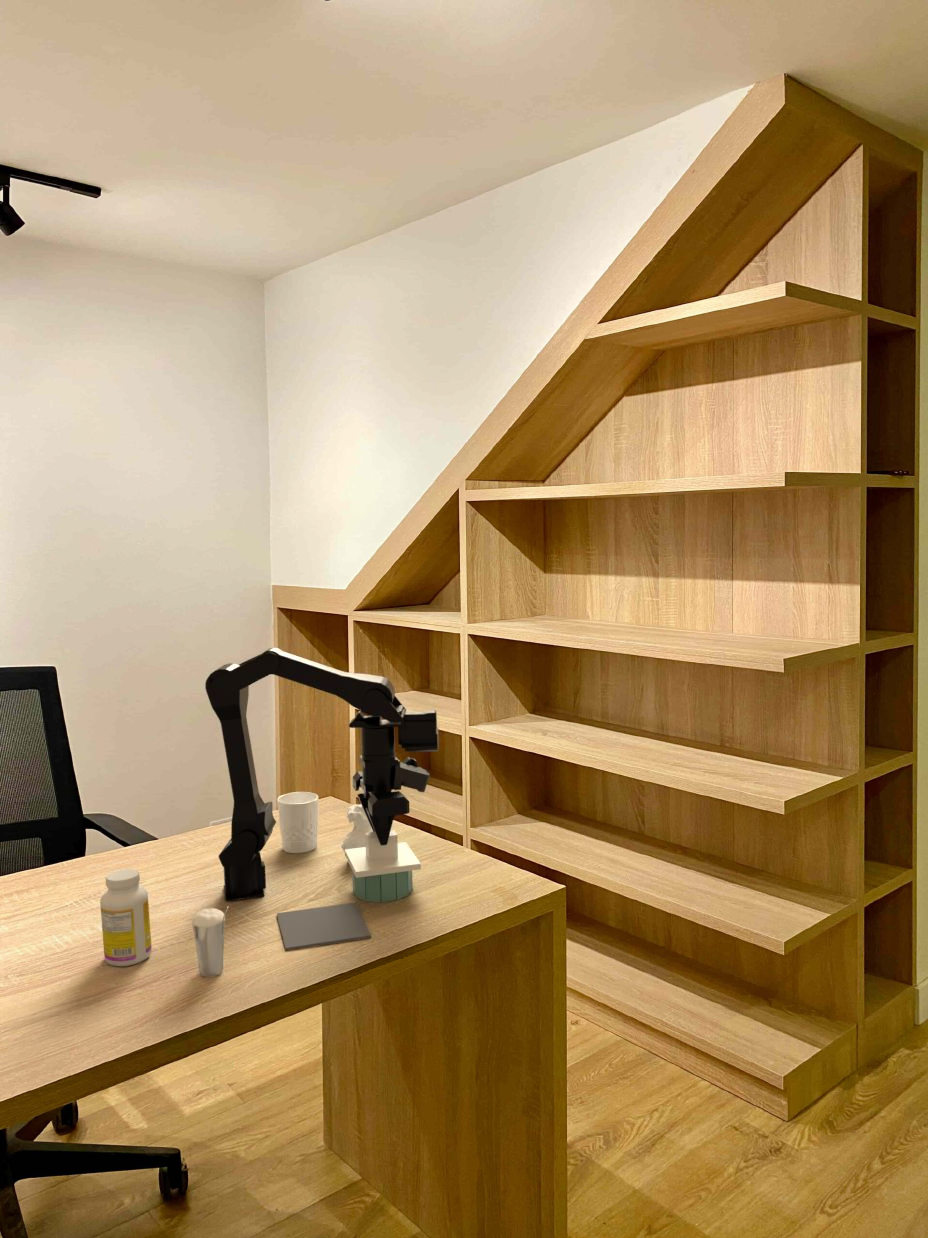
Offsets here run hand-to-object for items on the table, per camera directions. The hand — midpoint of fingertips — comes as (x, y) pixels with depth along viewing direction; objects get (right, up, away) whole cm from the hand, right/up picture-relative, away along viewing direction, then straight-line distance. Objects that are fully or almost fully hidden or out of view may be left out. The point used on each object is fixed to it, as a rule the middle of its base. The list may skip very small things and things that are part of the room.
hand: (381, 840), depth 162 cm
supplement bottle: (-36, -12, -22) cm, 44 cm away
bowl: (0, -9, +1) cm, 9 cm away
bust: (-4, -7, +16) cm, 18 cm away
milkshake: (-21, -13, -27) cm, 37 cm away
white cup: (-18, -7, +23) cm, 30 cm away
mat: (-8, -11, -13) cm, 19 cm away
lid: (0, -4, 0) cm, 4 cm away
